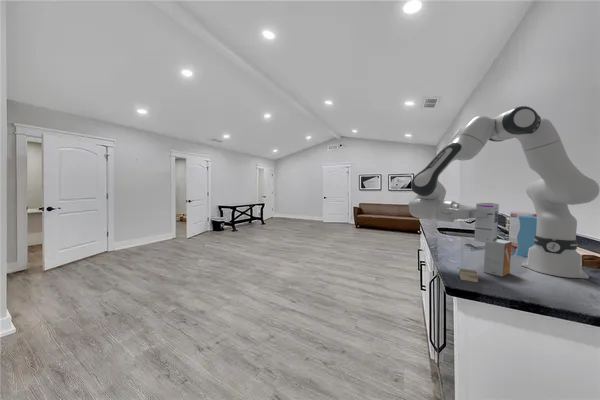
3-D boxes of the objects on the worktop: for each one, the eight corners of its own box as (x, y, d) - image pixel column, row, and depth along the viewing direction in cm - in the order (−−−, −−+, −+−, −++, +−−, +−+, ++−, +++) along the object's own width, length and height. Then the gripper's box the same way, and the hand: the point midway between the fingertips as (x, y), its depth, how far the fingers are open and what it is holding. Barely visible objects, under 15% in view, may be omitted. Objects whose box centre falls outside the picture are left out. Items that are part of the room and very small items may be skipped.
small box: (502, 277, 90) (505, 243, 89) (482, 272, 95) (484, 240, 94) (510, 273, 94) (512, 241, 94) (490, 268, 100) (492, 238, 99)
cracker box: (540, 251, 130) (543, 214, 129) (529, 251, 130) (532, 213, 129) (517, 245, 144) (520, 211, 143) (507, 245, 144) (510, 211, 143)
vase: (516, 252, 128) (518, 215, 127) (536, 255, 122) (539, 217, 121) (515, 255, 122) (518, 216, 121) (537, 258, 117) (540, 218, 116)
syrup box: (492, 243, 85) (496, 203, 84) (473, 240, 90) (476, 202, 89) (496, 241, 89) (499, 203, 88) (477, 238, 93) (480, 202, 93)
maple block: (459, 275, 91) (459, 268, 91) (475, 278, 89) (475, 270, 89) (460, 279, 87) (461, 271, 87) (477, 282, 84) (478, 274, 84)
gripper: (439, 204, 92) (482, 207, 81) (457, 203, 105) (497, 205, 94) (438, 220, 92) (481, 225, 82) (456, 217, 105) (496, 221, 95)
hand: (490, 214), depth 88 cm, fingers closed on syrup box, 6 cm apart
